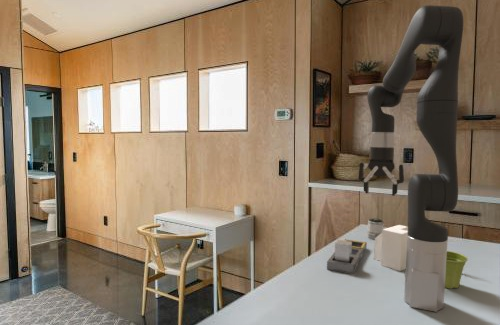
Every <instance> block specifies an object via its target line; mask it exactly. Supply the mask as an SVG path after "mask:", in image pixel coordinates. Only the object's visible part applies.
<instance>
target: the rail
mask: <svg viewBox="0 0 500 325" xmlns="http://www.w3.org/2000/svg"><path fill="white" fill-rule="evenodd" d="M343 241H350V242H352V258H351V263H345V262H339V261H335V252H334V253H332V255H331V257H329V259H328V260H327V261H326V270H329V271H335V272H341V273H346V274H351V275H352V274H354V273H355V270H356V269H357V266H358V264H359V262H360V261H361V259H362V257H363V256H364V254H365V252H366V250H367V248H368V247H367V241H361V240H360V241H359V240H352V239H344V240H343Z"/></svg>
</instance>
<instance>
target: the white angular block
mask: <svg viewBox="0 0 500 325" xmlns="http://www.w3.org/2000/svg"><path fill="white" fill-rule="evenodd" d="M407 235H408V225H407V226H406V225H402V224H396V225H394V226H390V227H387V228H384V229H383V230H382V233H381V234H380V235H378V236H377V237H376V238H375V240H374V248H373V259H374V260H376V261H379V262H380V266H381V267H382V266H383V267H386V268H389V269H393V270H395V271H399V272H401V271H403V270H406V253H407Z"/></svg>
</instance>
